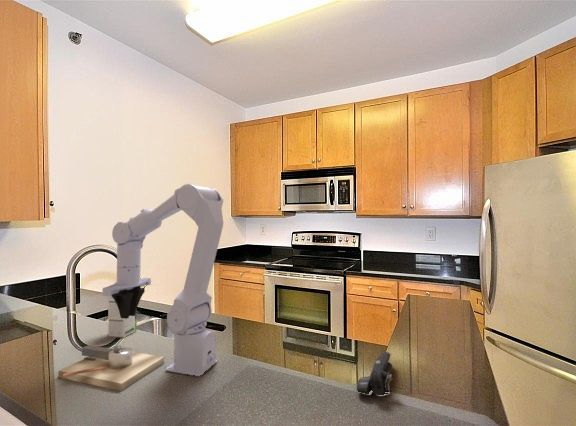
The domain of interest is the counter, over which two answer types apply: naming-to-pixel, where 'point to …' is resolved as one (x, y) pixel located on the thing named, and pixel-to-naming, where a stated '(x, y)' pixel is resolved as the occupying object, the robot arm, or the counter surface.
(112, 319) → the syrup box
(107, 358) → the grey bar with knob
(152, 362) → the cutting board
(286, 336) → the counter surface
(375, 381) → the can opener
